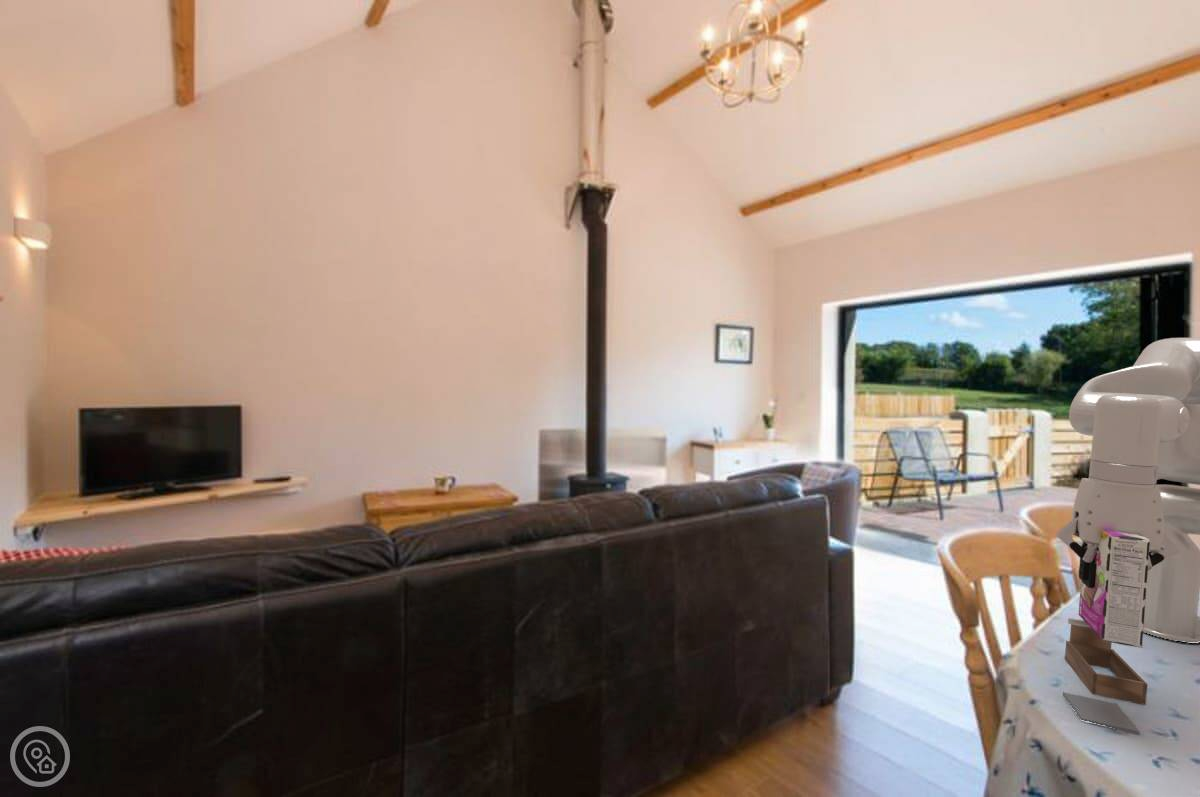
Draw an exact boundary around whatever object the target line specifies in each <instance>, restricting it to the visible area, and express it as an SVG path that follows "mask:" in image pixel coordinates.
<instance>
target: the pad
mask: <svg viewBox="0 0 1200 797" xmlns="http://www.w3.org/2000/svg"><path fill="white" fill-rule="evenodd" d="M1062 695H1063V697H1064V699H1065V698H1066V699H1065V700H1066V702H1067V701H1068V702H1069V703H1070V704H1069V703H1068V702H1067V703H1068V704H1069V706H1070V705H1071V706H1072V707H1071V706H1070V707H1071V708H1073V709H1074V710H1075V712H1076V713H1077V715H1078V716H1079V718H1080V719H1081V720H1084V721H1089V722H1092V723H1096V724H1100V725H1105V726H1107V727H1106V728H1108V727H1112V728H1115V729H1114V730H1116V729H1119V730H1118V731H1121V730H1122V731H1121V732H1125V731H1126V733H1130V734H1135V735H1139V736H1140V734H1141V731H1140V730H1139V729H1138V728H1137V727H1136V725H1135V724H1134V723H1133V722H1132V721H1131V719H1130V718H1129V716H1127V714H1126V713H1125V712H1124V711H1123V709H1122V708H1121V707H1120V706H1119V705H1118V703H1116V702H1111V701H1107V700H1102V699H1097V698H1092V697H1088V696H1083V695H1080V694H1074V693H1069V692H1064V691H1063V692H1062ZM1073 709H1072V710H1073ZM1074 710H1073V711H1074ZM1075 712H1074V713H1075ZM1076 713H1075V714H1076ZM1077 715H1076V716H1077ZM1078 716H1077V717H1078ZM1079 718H1078V719H1079ZM1080 719H1079V720H1080ZM1112 728H1111V729H1112Z"/></svg>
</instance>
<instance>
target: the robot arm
mask: <svg viewBox="0 0 1200 797" xmlns="http://www.w3.org/2000/svg"><path fill="white" fill-rule="evenodd" d="M1068 418H1069V423H1070V425H1071V427H1072V428H1073V430H1075V431H1076V432H1077V433H1079V434H1081V435H1085V436H1092V440H1091V450H1090V451H1091V454H1090V463H1089V473H1088V478H1087V477H1082V478H1081V480H1080V483H1079V486H1078V488H1077V492H1076V495H1075V499H1074V503H1073V509H1072V515H1071V519H1070V521H1069V522H1068V523H1066V524H1064V526H1063V527H1062V528H1061V529H1059V530H1058V531H1056V532H1055V536H1056V537H1057V538H1058V539H1059V540H1060V541H1061V542H1063V543H1064V544H1065V545H1067V546H1068V548H1070V550H1071V551H1073V552H1074V553H1075V555H1077V557H1079V566H1078V578H1079V580H1080V581H1081V580H1082V583H1084V584H1085V585H1086V586H1087V587H1088V588H1094V587H1095V577H1096V564H1095V563H1094V557H1095V555H1096V553H1097V550H1098V545H1099V544H1100V540H1101V535H1102V531H1116V532H1125V533H1132V534H1140V535H1141V536H1143V537H1145V538H1147V539H1149V540H1150V546H1149V556H1148V557H1149V559H1148V574H1147V587H1146V601H1145V615H1144V628H1143V634H1146V633H1147V635H1149V634H1150V635H1149V636H1152V635H1153V637H1155V636H1157V637H1156V638H1159V637H1161V638H1160V639H1162V638H1164V639H1163V640H1166V639H1170V640H1169V641H1171V640H1177V641H1185V642H1198V641H1200V616H1199V615H1198V612H1199V603H1200V548H1199V547H1198V545H1197V544H1196V543H1195V542H1194V541H1193V539H1192V538H1190V536H1189V535H1190V534H1191V535H1199V536H1200V488H1197V487H1190V486H1189V487H1188V486H1181V485H1175V484H1157V481H1158V480H1167V481H1171V482H1175V483H1176V482H1177V483H1178V482H1179V483H1183V484H1191V485H1197V486H1198V485H1199V486H1200V337H1170V338H1163V339H1159V340H1156V341H1153V342H1152V343H1150V344H1148V345H1147V346H1146V347H1145V348H1144V349H1143V350H1142V351H1141V353H1140V355H1139V356H1138V358H1137V359H1136V361H1135V362H1134V364H1133V365H1132V366H1129V367H1125V368H1121V369H1118V370H1115V371H1111V372H1107V373H1103V374H1101V375H1097V376H1095V377H1092V378H1091V379H1089V380H1088V381H1086V382H1085V383H1084V384H1083V385H1082V386H1081V388H1079V390H1078V391H1077V393H1076V395H1075V396H1074V398H1073V400H1072V402H1071V404H1070V408H1069V412H1068ZM1188 534H1189V535H1188ZM1072 536H1076V537H1078V538H1079V539H1080V540H1081V541H1082V542H1081V543H1080V544H1079V543H1078V542H1077V541H1076V540H1074V539H1073V537H1072Z"/></svg>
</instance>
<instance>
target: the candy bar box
mask: <svg viewBox="0 0 1200 797" xmlns="http://www.w3.org/2000/svg"><path fill="white" fill-rule="evenodd" d="M1149 546H1150V540H1149V539H1147V538H1145V537H1143V536H1141V535H1140V534H1132V533H1125V532H1116V531H1102V535H1101V540H1100V544H1099V545H1098V550H1097V553H1096V555H1095V557H1094V563H1095V564H1096V577H1095V587H1094V588H1088V587H1087V586H1086V585H1085V584H1084V583H1082V580H1081V579H1080V590H1079V603H1078V616H1079V617H1080V619H1081V620H1084V621H1085V622H1086V623H1087V624H1088V625H1089V626H1090V627H1091V628H1092V629H1093V630H1094V632H1095V633H1096V634H1097V635H1098V636H1099V637H1100V638H1101V639H1102V640H1103V641H1107V642H1111V643H1112V644H1116V645H1117V644H1118V645H1121V646H1122V645H1123V646H1128V647H1135V648H1143V641H1144V640H1143V636H1144V632H1143V628H1144V615H1145V601H1146V587H1147V574H1148V559H1149V557H1148V556H1149Z"/></svg>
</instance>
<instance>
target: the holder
mask: <svg viewBox="0 0 1200 797" xmlns="http://www.w3.org/2000/svg"><path fill="white" fill-rule="evenodd" d="M1067 624H1068V625H1070V631H1069V632H1070V634H1069V640H1065V650H1064V651H1065V652H1064V660H1065V661H1066V662H1067V664H1068V665H1069V666H1070V667H1071V668H1072V670H1073V671H1074V672H1075V674H1076V676H1077V677H1078V678H1079V679H1080V680H1081V682H1082V683H1083V684H1084V686H1086V688H1087V689H1088V690H1089V692H1090V693H1091V694H1092V695H1098V696H1103V697H1106V698H1107V697H1108V698H1111V699H1116V700H1122V701H1126V702H1131V703H1135V704H1139V705H1147V703H1146V702H1147V695H1148V694H1147V692H1148V683H1147V682H1146V681H1145V680H1144V679H1143V678H1142V676H1140V675H1139V674H1138V673H1137V672H1136V671H1135V670H1134V669H1133V668H1132V667H1131V666H1130V665H1129V664H1128V663H1127V662H1126V661H1125V660H1124V659H1123V658H1122V657H1121V656H1120V655H1119V654H1118V653H1117V652H1116V651H1115V650H1114V649H1112V644H1113V643H1111V642H1107V641H1103V640H1102V639H1101V638H1100V637H1099V636H1098V635H1097V634H1096V633H1095V632H1094V630H1093V629H1092V628H1091V627H1090V626H1089V625H1088V624H1087V623H1086V622H1085V621H1084V620H1083V619H1077V618H1072V617H1068V618H1067ZM1092 666H1095V667H1101V668H1104V669H1105V668H1106V669H1109V670H1110V671H1111V672H1112V673H1113V675H1115V676H1113V675H1109V674H1104V673H1099V672H1096V671H1095V670H1094V668H1093V667H1092Z"/></svg>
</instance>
